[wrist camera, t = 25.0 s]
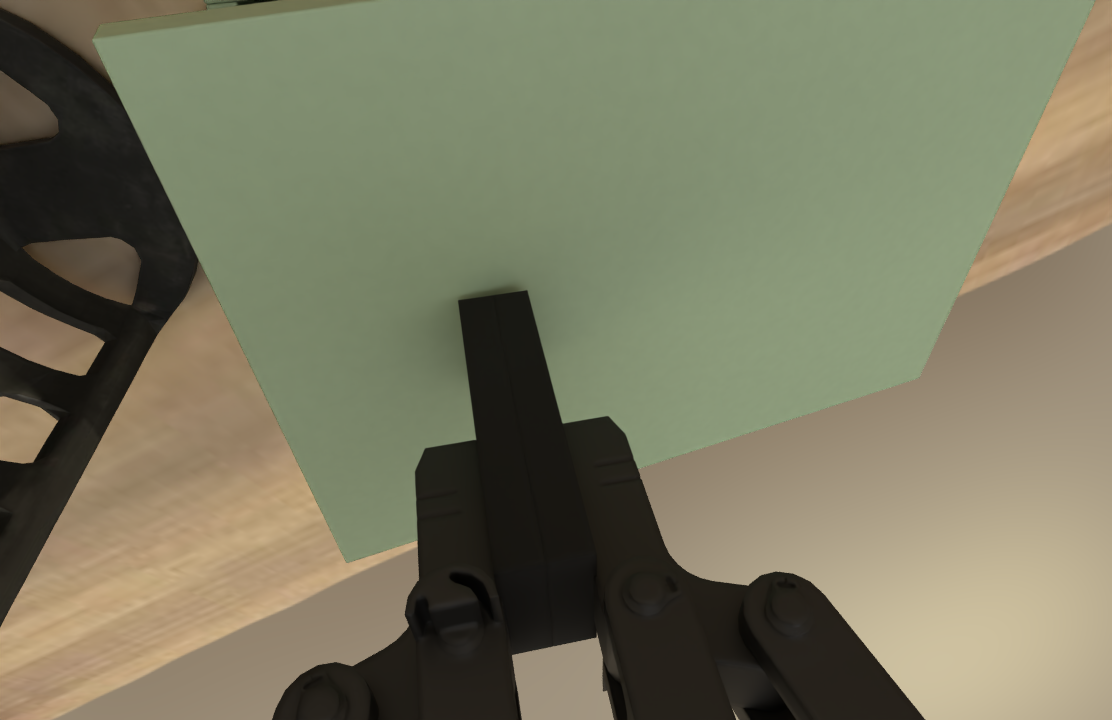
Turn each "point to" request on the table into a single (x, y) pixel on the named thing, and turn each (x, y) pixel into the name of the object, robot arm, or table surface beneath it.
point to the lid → (581, 203)
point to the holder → (62, 214)
